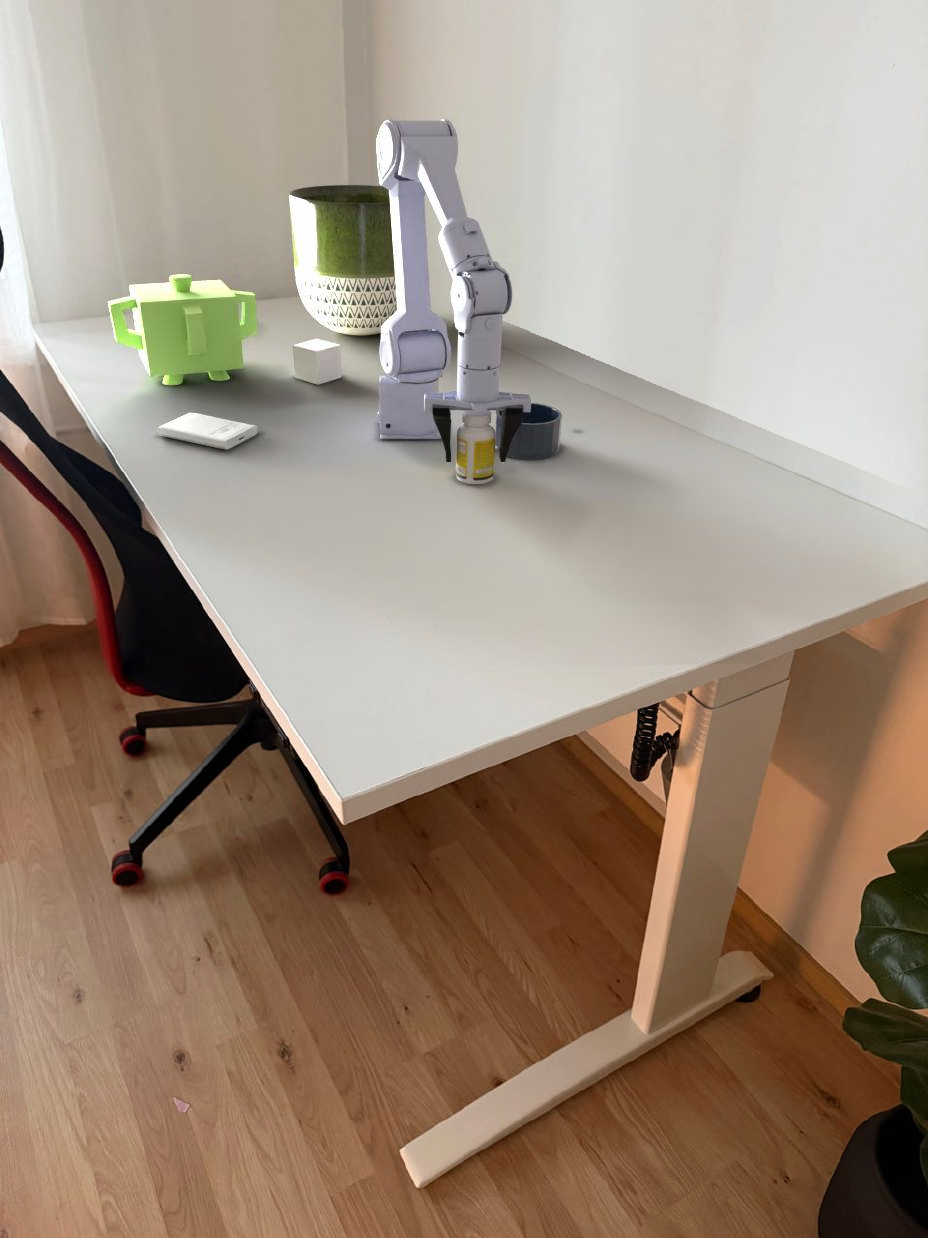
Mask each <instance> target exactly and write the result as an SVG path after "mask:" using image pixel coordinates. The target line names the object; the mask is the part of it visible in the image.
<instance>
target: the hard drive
mask: <svg viewBox="0 0 928 1238" xmlns="http://www.w3.org/2000/svg"><path fill="white" fill-rule="evenodd" d="M257 434H258V426H257V425H255V424H248V423H244V422H239V421H234V420H230V419H225V418H221V417H215V416H210V415H206V414H202V413H196V412H188V413H186V414H184V415H182V416H180V417H177V418H175V419H173V420H171V421H169V422H166V423H164V424H162V425H160V426H159V427H158V435H159V436H161V437H165V438H169V439H174V440H179V441H183V442H188V443H192V444H197V445H201V446H206V447H211V448H214V449H215V448H216V449H220V450H221V449H222V450H230V449H232V448H234V447H235V446H238V445H240V444H241V443H243V442H245V441H247V440H249V439H251V438H253V437H255V436H256V435H257Z"/></svg>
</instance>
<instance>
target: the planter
mask: <svg viewBox="0 0 928 1238" xmlns="http://www.w3.org/2000/svg"><path fill="white" fill-rule="evenodd" d="M288 201H289V202H288V203H289V217H290V226H291V240H292V242H291V243H292V253H293V264H294V265H293V266H294V276H295V283H296V287H297V291H298V294H299V297H300V299H301V302H302V304H303V306H304V308H305V309H306V311H307V312H308V313H309V314H310V316H311V317H312V318H314V319H315V320H316V321H317V322H318V323H320V325H322V326H324V327H326V328H327V329H329V330H331V331H333V332H337V333H339V334H343V335H349V336H374V335H379V334H381V326H382V325H383V324H384V323H385V322H386V321H387V320H388V319H389V318H390V317H391V316H392V315H393V314H394V313H395V312H396V311H397V309H398V307H397V293H396V278H395V264H394V250H393V235H392V221H391V206H390V194H389V190H388V189H387V188H385V187H383V186H381V185H371V184H369V185H368V184H332V185H331V184H330V185H329V184H328V185H327V184H326V185H316V186H315V185H313V186H306V187H301V188H296V189H292V190H291V191H290V192H289V193H288Z"/></svg>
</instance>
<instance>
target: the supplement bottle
mask: <svg viewBox="0 0 928 1238" xmlns="http://www.w3.org/2000/svg"><path fill="white" fill-rule="evenodd" d="M461 415H462V416H461V422H462V423H463V424H461V425H460V426H459V427H458V428H457V430H456V452H455V453H456V455H455V456H456V458H455V476H456V479H457V480H458V481H459V482H461V483H463V484H467V485H485V484H488V483H491V481H492V480H493V479H494V474H495V455H496V453H495V452H496V449H495V427H493V426H492V425H490V424H491V422H492V410H462V414H461Z"/></svg>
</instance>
